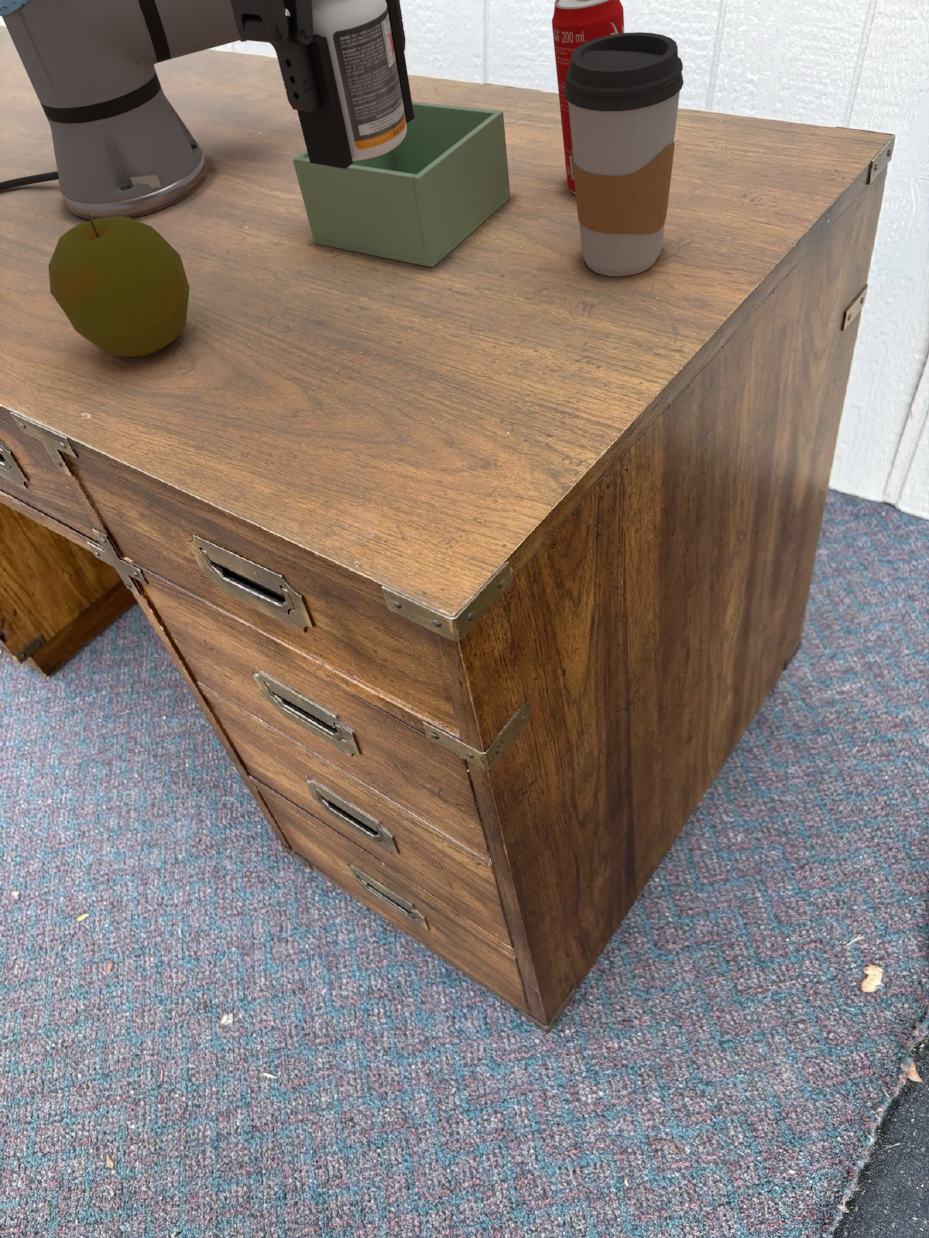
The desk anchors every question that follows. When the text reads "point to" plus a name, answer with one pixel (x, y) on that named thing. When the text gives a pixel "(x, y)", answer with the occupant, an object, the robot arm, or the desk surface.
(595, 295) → the desk surface
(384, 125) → the pill bottle
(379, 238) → the bin
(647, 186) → the coffee cup
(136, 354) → the apple
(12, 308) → the desk surface
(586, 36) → the beverage can
